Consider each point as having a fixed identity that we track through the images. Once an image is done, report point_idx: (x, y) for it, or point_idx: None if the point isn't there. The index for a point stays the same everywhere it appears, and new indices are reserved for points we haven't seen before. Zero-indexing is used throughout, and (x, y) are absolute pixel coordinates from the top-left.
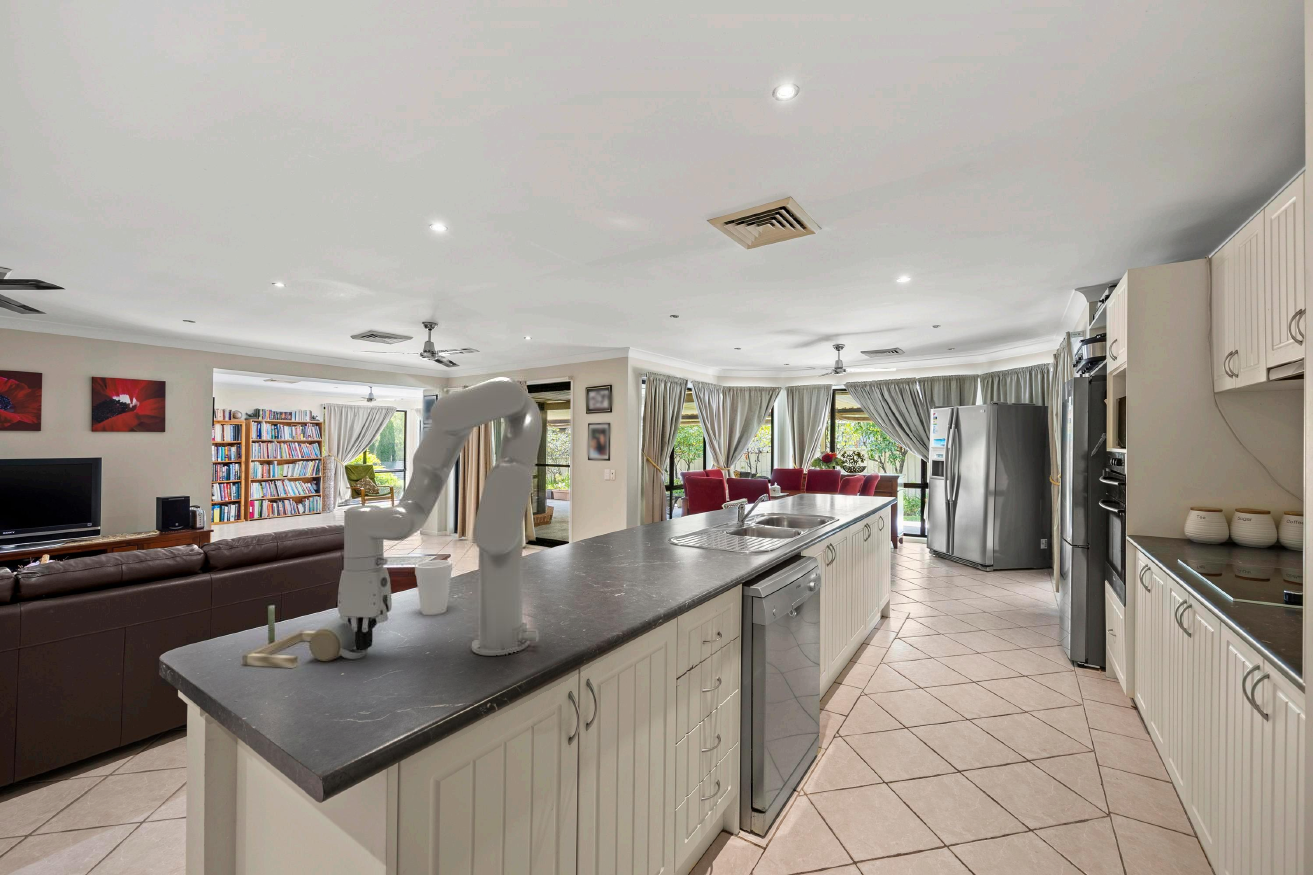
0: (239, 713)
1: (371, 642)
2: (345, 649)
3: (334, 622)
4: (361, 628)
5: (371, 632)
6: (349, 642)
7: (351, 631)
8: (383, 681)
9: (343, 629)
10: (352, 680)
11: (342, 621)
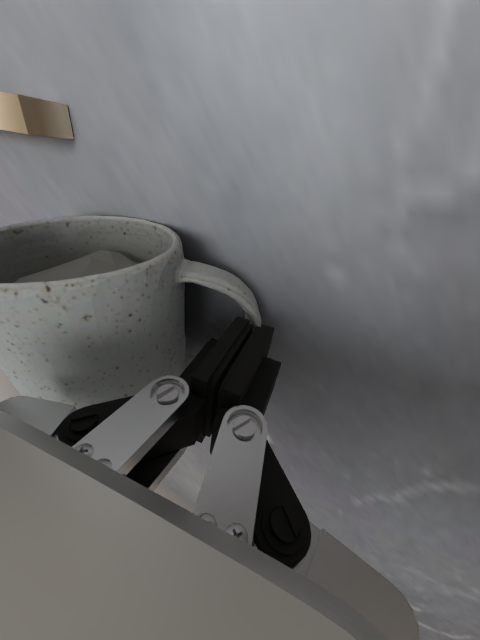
0: (188, 501)
1: (279, 367)
2: (185, 346)
3: (19, 381)
4: (196, 431)
5: (263, 411)
6: (176, 349)
7: (137, 356)
8: (418, 525)
9: (110, 397)
10: (316, 482)
11: (33, 368)
